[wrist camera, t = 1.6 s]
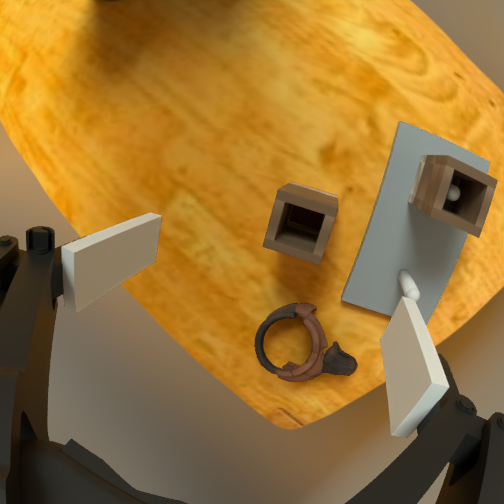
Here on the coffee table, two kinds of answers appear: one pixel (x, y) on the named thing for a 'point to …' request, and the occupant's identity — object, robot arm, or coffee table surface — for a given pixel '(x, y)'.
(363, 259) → the pin board
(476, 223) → the sleeve seated
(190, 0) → the coffee table surface
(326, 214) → the sleeve loose
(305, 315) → the pottery mug
